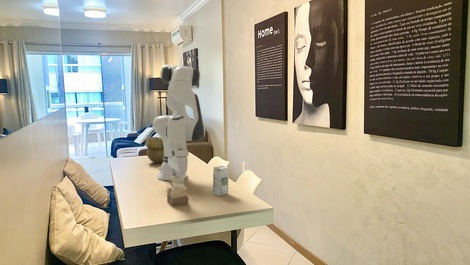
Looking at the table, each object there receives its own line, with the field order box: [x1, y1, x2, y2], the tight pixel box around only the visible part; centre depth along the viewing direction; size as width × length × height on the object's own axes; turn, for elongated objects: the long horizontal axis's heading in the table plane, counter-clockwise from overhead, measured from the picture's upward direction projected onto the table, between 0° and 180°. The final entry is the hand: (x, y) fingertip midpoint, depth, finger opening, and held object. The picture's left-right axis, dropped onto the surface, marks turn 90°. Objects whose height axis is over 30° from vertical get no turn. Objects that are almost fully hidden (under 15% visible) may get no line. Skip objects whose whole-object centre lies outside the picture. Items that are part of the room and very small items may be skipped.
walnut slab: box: [166, 194, 189, 208], centre depth 170 cm, size 8×8×4 cm
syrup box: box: [212, 165, 229, 197], centre depth 185 cm, size 6×6×14 cm
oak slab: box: [166, 185, 188, 198], centre depth 169 cm, size 7×7×4 cm
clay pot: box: [145, 136, 164, 164], centre depth 267 cm, size 21×21×20 cm
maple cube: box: [170, 176, 185, 189], centre depth 168 cm, size 5×5×5 cm
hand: (176, 178), depth 168 cm, fingers open, 8 cm apart
